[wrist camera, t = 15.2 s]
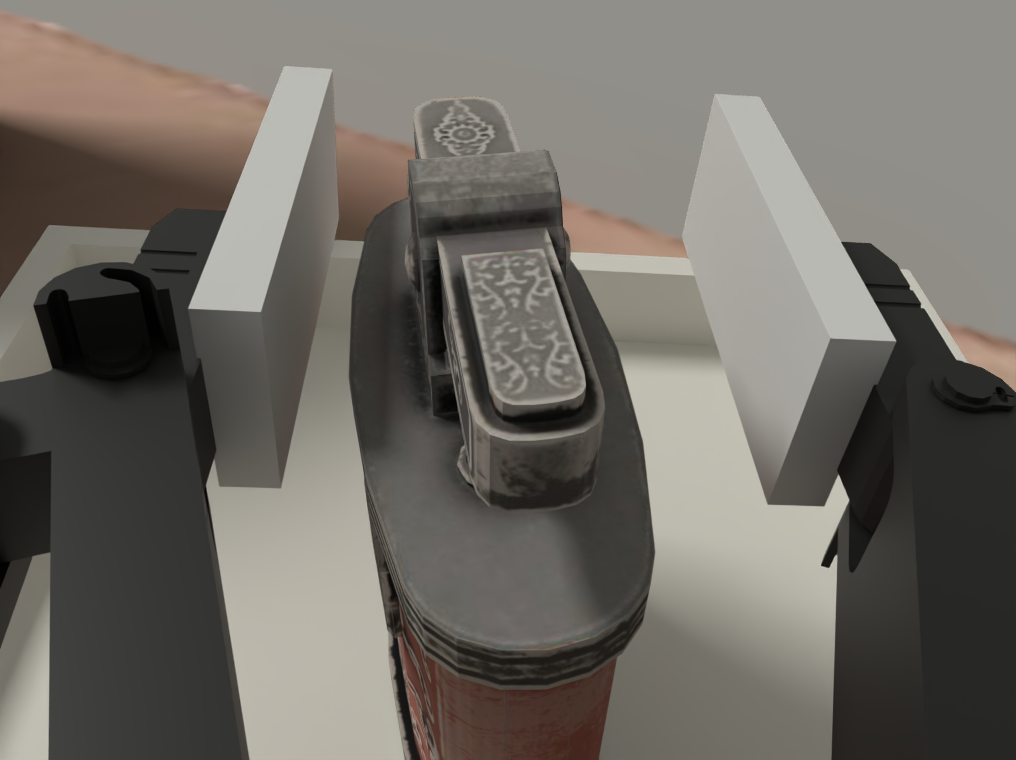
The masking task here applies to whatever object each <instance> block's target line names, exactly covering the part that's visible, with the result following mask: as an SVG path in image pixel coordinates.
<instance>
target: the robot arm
mask: <svg viewBox="0 0 1016 760" xmlns="http://www.w3.org/2000/svg"><path fill="white" fill-rule="evenodd" d="M333 93H334V92H333V70H332V69H320V68H306V67H290V66H284V69H283V71H282V74H281V76H280V79H279V81H278V84H277V86H276V89H275V91H274V94H273V96H272V99H271V101H270V104H269V106H268V109H267V111H266V114H265V116H264V119H263V121H262V124H261V126H260V129H259V131H258V134H257V136H256V139H255V141H254V144H253V146H252V149H251V152H250V154H249V157H248V159H247V162H246V164H245V167H244V169H243V172H242V174H241V177H240V179H239V182H238V184H237V187H236V189H235V192H234V194H233V197H232V199H231V202H230V204H229V207H228V209H227V211H212V210H193V209H176V210H174V211H173V212H172V213H170V214H169V215H167V216H166V217H165V218H163V219H162V220H161V221H159V222H158V223H157V224H155V225H154V226H153V227H152V228H151V230H150V232H149V234H148V235H147V237H146V239H145V241H144V243H143V245H142V247H141V249H140V250H141V254H138V255H137V257H136V259H135V261H134V263H133V264H132V263H127V262H100V263H96V264H91V265H87V266H82V267H77V268H74V269H72V270H70V271H68V272H65V273H63V274H61V275H59V276H57V277H54V278H53V279H52V280H51V281H50V282H48V283H47V284H46V285H45V286H44V287H43V288H42V289H40V290H39V292H38V294H37V297H36V299H35V302H34V304H33V307H34V310H35V313H36V317H37V320H38V323H39V327H40V330H41V333H42V336H43V340H44V343H45V346H46V349H47V353H48V356H49V359H50V363H51V366H52V370H50V371H48V372H45V373H42V374H38V375H34V376H30V377H25V378H21V379H15V380H8V381H2V382H0V648H1V645H2V643H3V640H4V637H5V634H6V631H7V628H8V626H9V623H10V620H11V617H12V614H13V611H14V609H15V606H16V603H17V600H18V597H19V594H20V592H21V589H22V586H23V583H24V580H25V578H26V575H27V572H28V569H29V566H30V563H31V561H32V557H33V556H36V555H41V554H45V553H50V642H49V748H48V760H250V759H249V753H248V746H247V740H246V734H245V727H244V721H243V714H242V708H241V702H240V695H239V689H238V682H237V676H236V670H235V663H234V657H233V650H232V644H231V638H230V631H229V625H228V618H227V612H226V606H225V599H224V593H223V586H222V580H221V574H220V567H219V561H218V554H217V548H216V542H215V535H214V529H213V522H212V516H211V510H210V504H209V499H208V493H207V488H206V484H207V480H208V477H209V473H210V470H211V467H212V463H213V460H215V465H216V471H217V477H218V482H219V486H220V487H250V488H280V489H281V486H282V481H283V477H284V472H285V467H286V463H287V458H288V453H289V449H290V444H291V439H292V435H293V430H294V426H295V421H296V416H297V412H298V407H299V402H300V398H301V393H302V388H303V384H304V379H305V374H306V370H307V365H308V360H309V356H310V351H311V346H312V342H313V337H314V332H315V328H316V323H317V319H318V314H319V309H320V305H321V300H322V295H323V291H324V286H325V281H326V277H327V272H328V267H329V263H330V258H331V253H332V249H333V244H334V239H335V235H336V230H337V225H338V221H339V206H338V183H337V161H336V138H335V115H334V94H333ZM682 238H683V242H684V245H685V248H686V251H687V254H688V257H689V260H690V263H691V267H692V270H693V273H694V276H695V279H696V282H697V285H698V289H699V292H700V295H701V298H702V301H703V304H704V307H705V310H706V314H707V317H708V320H709V323H710V326H711V329H712V332H713V335H714V339H715V342H716V345H717V348H718V351H719V354H720V357H721V361H722V364H723V367H724V370H725V373H726V376H727V379H728V382H729V386H730V389H731V392H732V395H733V398H734V401H735V404H736V407H737V411H738V414H739V417H740V420H741V423H742V426H743V429H744V433H745V436H746V439H747V442H748V445H749V448H750V451H751V454H752V458H753V461H754V464H755V467H756V470H757V473H758V476H759V479H760V483H761V486H762V489H763V492H764V495H765V498H766V501H767V505H793V506H823V507H824V506H825V504H826V502H827V499H828V497H829V495H830V493H831V490H832V488H833V486H834V483H835V481H836V479H837V476H838V474H839V476H840V479H841V481H842V484H843V486H844V489H845V491H846V493H847V496H848V498H849V502H848V504H847V506H846V508H845V511H844V513H843V515H842V517H841V519H840V521H839V524H838V526H837V528H836V530H835V532H834V535H833V537H832V539H831V541H830V543H829V545H828V548H827V550H826V552H825V554H824V557H823V560H822V563H821V566H823V567H826V568H830V565H831V563H832V561H833V559H834V557H835V556H836V555H837V586H836V620H835V654H834V688H833V722H832V756H831V760H1016V392H1015V391H1014V390H1013V389H1012V388H1011V387H1009V386H1008V385H1007V384H1006V383H1005V382H1004V381H1003V380H1002V379H1001V378H999V377H997V376H995V375H994V374H992V373H990V372H988V371H987V370H985V369H983V368H981V367H978V366H975V365H972V364H969V363H966V362H963V361H960V360H956V358H955V357H954V355H953V354H952V352H951V350H950V349H949V347H948V346H947V344H946V342H945V341H944V339H943V338H942V336H941V334H940V333H939V331H938V330H937V328H936V326H935V325H934V323H933V321H932V320H931V318H930V317H929V315H928V313H927V312H926V310H925V309H924V308H921V302H920V301H919V299H918V297H917V296H916V294H915V293H914V291H913V290H910V285H909V283H908V281H907V280H906V278H905V277H904V275H903V273H902V272H901V270H900V269H899V267H898V265H897V264H896V263H895V262H894V261H892V260H891V259H890V258H889V257H887V256H886V255H884V254H883V253H882V252H881V251H880V250H878V249H877V248H876V247H874V246H873V245H872V244H870V243H853V242H841V241H840V240H839V238H838V236H837V234H836V232H835V231H834V229H833V227H832V225H831V223H830V222H829V220H828V218H827V216H826V214H825V213H824V211H823V209H822V207H821V206H820V204H819V202H818V200H817V198H816V197H815V195H814V193H813V191H812V189H811V188H810V186H809V184H808V182H807V181H806V179H805V177H804V175H803V173H802V172H801V170H800V168H799V166H798V164H797V163H796V161H795V159H794V157H793V156H792V154H791V152H790V150H789V148H788V147H787V145H786V143H785V141H784V139H783V138H782V136H781V134H780V132H779V131H778V129H777V127H776V125H775V123H774V122H773V120H772V118H771V116H770V115H769V113H768V111H767V109H766V107H765V106H764V104H763V102H762V100H761V98H760V97H753V96H737V95H721V94H715V95H714V99H713V104H712V108H711V112H710V117H709V121H708V125H707V130H706V134H705V138H704V143H703V147H702V152H701V156H700V160H699V165H698V169H697V173H696V178H695V182H694V186H693V191H692V195H691V199H690V204H689V208H688V213H687V217H686V221H685V226H684V230H683V234H682Z"/></svg>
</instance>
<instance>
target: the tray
mask: <svg viewBox="0 0 1016 760" xmlns="http://www.w3.org/2000/svg"><path fill="white" fill-rule="evenodd" d="M149 232H150V230H135V229H116V228H96V227H77V226H58V225H48V227H47V228H46V230H45V231H44V233H43V234H42V236H41V237H40V239H39V240H38V242H37V243H36V245H35V246H34V248H33V249H32V251H31V252H30V254H29V255H28V257H27V258H26V260H25V261H24V263H23V264H22V266H21V267H20V269H19V270H18V272H17V273H16V275H15V276H14V278H13V279H12V281H11V282H10V284H9V285H8V287H7V288H6V290H5V291H4V293H3V294H2V296H1V297H0V382H2V381H8V380H15V379H21V378H25V377H30V376H34V375H38V374H42V373H45V372H48V371H50V370H52V366H51V363H50V359H49V356H48V353H47V349H46V346H45V343H44V340H43V336H42V333H41V330H40V327H39V323H38V320H37V317H36V313H35V310H34V307H33V304H34V302H35V299H36V297H37V294H38V292H39V290H40V289H42V288H43V287H44V286H45V285H46V284H47V283H48V282H50V281H51V280H52V279H53V278H54V277H57V276H59V275H61V274H63V273H65V272H68V271H70V270H72V269H74V268H77V267H82V266H87V265H91V264H96V263H100V262H127V263H132V264H133V263H134V261H135V259H136V257H137V255H138V254H141V250H140V249H141V247H142V245H143V243H144V241H145V239H146V237H147V235H148V234H149ZM363 244H364V241H347V240H334V244H333V249H332V253H331V258H330V263H329V267H328V272H327V277H326V281H325V286H324V291H323V295H322V300H321V305H320V309H319V314H318V319H317V323H316V328H315V332H314V337H313V342H312V346H311V351H310V356H309V360H308V365H307V370H306V374H305V379H304V384H303V388H302V393H301V398H300V402H299V407H298V412H297V416H296V421H295V426H294V430H293V435H292V439H291V444H290V449H289V453H288V458H287V463H286V467H285V472H284V477H283V481H282V486H281V489H280V488H250V487H220V486H219V482H218V477H217V471H216V465H215V460H213V463H212V467H211V470H210V473H209V477H208V480H207V484H206V488H207V493H208V499H209V504H210V510H211V516H212V522H213V529H214V535H215V542H216V548H217V554H218V561H219V567H220V574H221V580H222V586H223V593H224V599H225V606H226V612H227V618H228V625H229V631H230V638H231V644H232V650H233V657H234V663H235V670H236V676H237V682H238V689H239V695H240V702H241V708H242V714H243V721H244V727H245V734H246V740H247V746H248V753H249V759H250V760H405V759H404V753H403V747H402V741H401V735H400V729H399V723H398V717H397V711H396V705H395V699H394V692H393V686H392V680H391V673H390V666H389V659H388V631H387V625H386V619H385V613H384V607H383V602H382V596H381V590H380V584H379V578H378V572H377V566H376V560H375V554H374V548H373V542H372V535H371V528H370V521H369V514H368V507H367V500H366V493H365V486H364V472H363V466H362V460H361V454H360V448H359V443H358V437H357V431H356V425H355V419H354V412H353V405H352V398H351V391H350V384H349V352H350V326H351V300H352V292H353V287H354V283H355V279H356V275H357V270H358V266H359V262H360V257H361V253H362V249H363ZM570 259H571V261H572V262H573V263H574V265H575V266H576V268H577V269H578V270H579V272H580V273H581V275H582V277H583V279H584V281H585V283H586V285H587V287H588V289H589V291H590V293H591V295H592V297H593V300H594V302H595V304H596V306H597V308H598V310H599V312H600V314H601V316H602V318H603V320H604V322H605V324H606V326H607V328H608V330H609V332H610V334H611V336H612V338H613V340H614V342H615V344H616V346H617V349H618V352H619V355H620V359H621V363H622V366H623V370H624V374H625V377H626V381H627V385H628V388H629V392H630V396H631V399H632V403H633V407H634V410H635V414H636V418H637V421H638V425H639V429H640V432H641V436H642V440H643V445H644V454H645V463H646V472H647V481H648V490H649V499H650V508H651V517H652V526H653V535H654V544H655V559H654V565H653V572H652V579H651V585H650V590H649V595H648V599H647V604H646V609H645V614H644V619H643V623H642V625H641V627H640V628H639V630H638V631H637V633H636V634H635V636H634V637H633V639H632V640H631V642H630V643H629V645H628V646H627V648H626V649H625V651H624V652H623V654H621V655H620V656H618V657H617V661H616V667H615V672H614V678H613V683H612V689H611V694H610V700H609V705H608V711H607V716H606V722H605V727H604V733H603V738H602V744H601V749H600V755H599V760H831V756H832V722H833V688H834V654H835V620H836V586H837V555H836V556H835V557H834V559H833V561H832V563H831V565H830V568H826V567H823V566H821V563H822V560H823V557H824V554H825V552H826V550H827V548H828V545H829V543H830V541H831V539H832V537H833V535H834V532H835V530H836V528H837V526H838V524H839V521H840V519H841V517H842V515H843V513H844V511H845V508H846V506H847V504H848V502H849V498H848V496H847V493H846V491H845V489H844V486H843V484H842V481H841V479H840V476H839V474H838V476H837V479H836V481H835V483H834V486H833V488H832V490H831V493H830V495H829V497H828V499H827V502H826V504H825V506H824V507H823V506H793V505H767V501H766V498H765V495H764V492H763V489H762V486H761V483H760V479H759V476H758V473H757V470H756V467H755V464H754V461H753V458H752V454H751V451H750V448H749V445H748V442H747V439H746V436H745V433H744V429H743V426H742V423H741V420H740V417H739V414H738V411H737V407H736V404H735V401H734V398H733V395H732V392H731V389H730V386H729V382H728V379H727V376H726V373H725V370H724V367H723V364H722V361H721V357H720V354H719V351H718V348H717V345H716V342H715V339H714V335H713V332H712V329H711V326H710V323H709V320H708V317H707V314H706V310H705V307H704V304H703V301H702V298H701V295H700V292H699V289H698V285H697V282H696V279H695V276H694V273H693V270H692V267H691V263H690V260H689V258H674V257H655V256H636V255H617V254H597V253H578V252H571V256H570ZM900 270H901V272H902V273H903V275H904V277H905V278H906V280H907V281H908V283H909V285H910V290H913V291H914V293H915V294H916V296H917V297H918V299H919V301H920V302H921V308H924V309H925V310H926V312H927V313H928V315H929V317H930V318H931V320H932V321H933V323H934V325H935V326H936V328H937V330H938V331H939V333H940V334H941V336H942V338H943V339H944V341H945V342H946V344H947V346H948V347H949V349H950V350H951V352H952V354H953V355H954V357H955V358H956V360H960V361H963V362H966V363H968V362H967V360H966V359H965V357H964V355H963V354H962V352H961V351H960V349H959V348H958V346H957V344H956V343H955V341H954V340H953V338H952V337H951V335H950V333H949V332H948V330H947V329H946V327H945V326H944V324H943V322H942V321H941V319H940V318H939V316H938V315H937V313H936V312H935V310H934V308H933V307H932V305H931V304H930V302H929V301H928V299H927V297H926V296H925V294H924V293H923V291H922V289H921V288H920V286H919V285H918V283H917V282H916V280H915V278H914V277H913V275H912V274H911V272H910V271H909V270H905V269H900ZM49 642H50V553H45V554H41V555H36V556H33V557H32V561H31V563H30V566H29V569H28V572H27V575H26V578H25V580H24V583H23V586H22V589H21V592H20V594H19V597H18V600H17V603H16V606H15V609H14V611H13V614H12V617H11V620H10V623H9V626H8V628H7V631H6V634H5V637H4V640H3V643H2V645H1V648H0V760H48V748H49Z"/></svg>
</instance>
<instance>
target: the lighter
mask: <svg viewBox="0 0 1016 760" xmlns="http://www.w3.org/2000/svg"><path fill="white" fill-rule="evenodd" d="M413 121H414V137H415V154H416V159H413V160H408V175H407V183H408V198H406V199H403V200H401V201H398V202H395V203H393V204H392V205H390V206H389V207H387V208H386V209H384V210H383V211H381V212H380V213H379V214H377V215H376V216H375V217H374V219H373V221H372V222H371V224H370V226H369V227H368V229H367V231H366V236H365V240H364V244H363V249H362V253H361V257H360V262H359V266H358V270H357V275H356V279H355V283H354V287H353V292H352V300H351V326H350V352H349V384H350V391H351V398H352V405H353V412H354V419H355V425H356V431H357V437H358V443H359V448H360V454H361V460H362V466H363V472H364V486H365V493H366V500H367V507H368V514H369V521H370V528H371V535H372V542H373V548H374V554H375V560H376V566H377V572H378V578H379V584H380V590H381V596H382V602H383V607H384V613H385V619H386V625H387V631H388V659H389V666H390V673H391V680H392V686H393V692H394V699H395V705H396V711H397V717H398V723H399V729H400V735H401V741H402V747H403V753H404V759H405V760H599V755H600V749H601V744H602V738H603V733H604V727H605V722H606V716H607V711H608V705H609V700H610V694H611V689H612V683H613V678H614V672H615V667H616V661H617V657H618V656H620V655H621V654H623V652H624V651H625V649H626V648H627V646H628V645H629V643H630V642H631V640H632V639H633V637H634V636H635V634H636V633H637V631H638V630H639V628H640V627H641V625H642V623H643V619H644V614H645V609H646V604H647V599H648V595H649V590H650V585H651V579H652V572H653V565H654V559H655V544H654V535H653V526H652V517H651V508H650V499H649V490H648V481H647V472H646V463H645V454H644V445H643V440H642V436H641V432H640V429H639V425H638V421H637V418H636V414H635V410H634V407H633V403H632V399H631V396H630V392H629V388H628V385H627V381H626V377H625V374H624V370H623V366H622V363H621V359H620V355H619V352H618V349H617V346H616V344H615V342H614V340H613V338H612V336H611V334H610V332H609V330H608V328H607V326H606V324H605V322H604V320H603V318H602V316H601V314H600V312H599V310H598V308H597V306H596V304H595V302H594V300H593V297H592V295H591V293H590V291H589V289H588V287H587V285H586V283H585V281H584V279H583V277H582V275H581V273H580V272H579V270H578V269H577V268H576V266H575V265H574V263H573V262H572V261H571V259H570V256H571V251H570V240H569V236H568V234H567V232H566V231H565V229H564V228H563V218H562V202H561V193H560V187H559V182H558V177H557V172H556V169H555V166H554V164H553V161H552V159H551V156H550V154H549V151H546V150H536V151H522V152H520V150H519V147H518V144H517V141H516V138H515V135H514V132H513V129H512V127H511V124H510V121H509V118H508V115H507V112H506V111H505V109H504V108H503V107H502V105H501V104H500V103H498V102H496V101H494V100H493V99H488V98H483V97H453V98H443V99H436V100H430V101H427V102H425V103H422V104H420V105H419V106H418V107H417V108H416V109H415V110H414V118H413Z"/></svg>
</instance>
